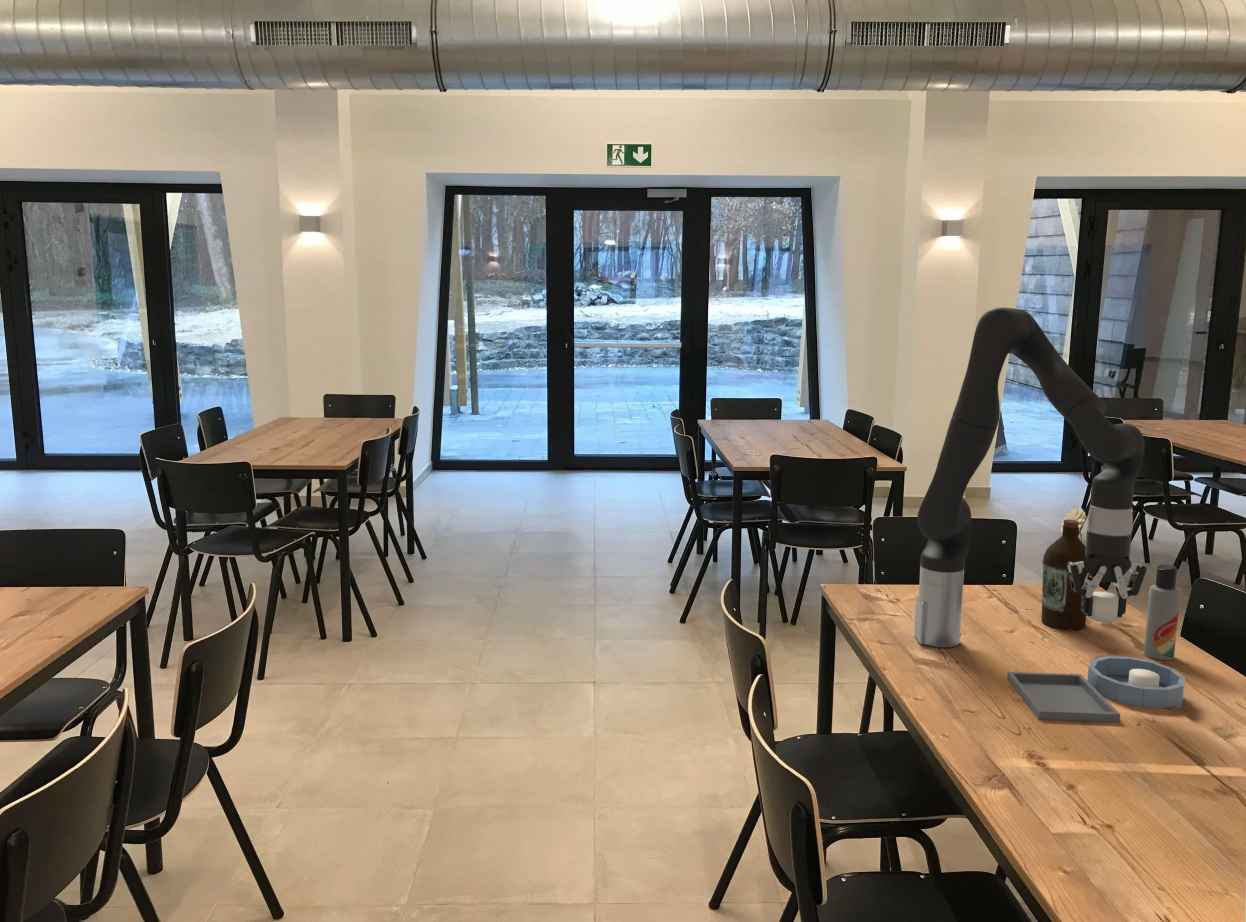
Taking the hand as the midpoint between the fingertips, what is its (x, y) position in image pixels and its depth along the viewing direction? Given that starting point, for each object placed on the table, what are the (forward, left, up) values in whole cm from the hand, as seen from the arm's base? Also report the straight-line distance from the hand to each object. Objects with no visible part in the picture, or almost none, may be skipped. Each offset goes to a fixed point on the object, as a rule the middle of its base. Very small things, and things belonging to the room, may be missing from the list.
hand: (1102, 615), depth 176 cm
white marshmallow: (+7, -4, -15) cm, 17 cm away
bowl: (+7, 0, -16) cm, 17 cm away
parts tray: (-9, -6, -16) cm, 19 cm away
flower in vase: (+16, +56, -16) cm, 60 cm away
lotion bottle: (+21, +21, -16) cm, 33 cm away
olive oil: (+8, +40, -16) cm, 43 cm away
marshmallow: (0, 0, -1) cm, 1 cm away
